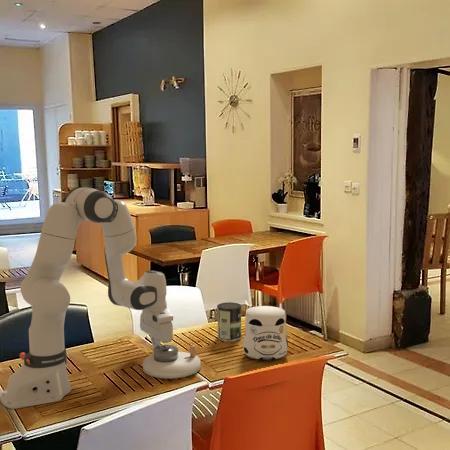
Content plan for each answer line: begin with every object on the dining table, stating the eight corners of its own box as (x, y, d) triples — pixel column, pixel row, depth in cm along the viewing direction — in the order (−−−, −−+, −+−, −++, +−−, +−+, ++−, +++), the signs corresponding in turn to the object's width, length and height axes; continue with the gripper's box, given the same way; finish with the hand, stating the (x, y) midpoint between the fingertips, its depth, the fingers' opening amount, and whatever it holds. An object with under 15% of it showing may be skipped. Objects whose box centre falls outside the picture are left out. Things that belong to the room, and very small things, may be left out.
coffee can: (241, 333, 250) (241, 302, 248) (241, 341, 240) (241, 308, 238) (217, 333, 250) (217, 302, 248) (216, 341, 240) (216, 308, 238)
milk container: (264, 368, 211) (264, 321, 209) (233, 355, 224) (233, 310, 222) (297, 357, 222) (297, 312, 220) (266, 345, 235) (266, 302, 233)
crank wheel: (159, 383, 196) (159, 366, 196) (133, 364, 214) (132, 348, 213) (211, 369, 208) (211, 353, 207) (182, 352, 225) (182, 337, 224)
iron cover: (160, 364, 208) (160, 352, 207) (149, 356, 215) (149, 345, 215) (182, 359, 213) (182, 347, 212) (170, 352, 220) (170, 340, 220)
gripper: (135, 307, 225) (136, 341, 227) (160, 320, 208) (161, 357, 210) (150, 305, 229) (150, 338, 231) (175, 317, 212) (176, 353, 214)
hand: (155, 347), depth 220 cm, fingers closed
